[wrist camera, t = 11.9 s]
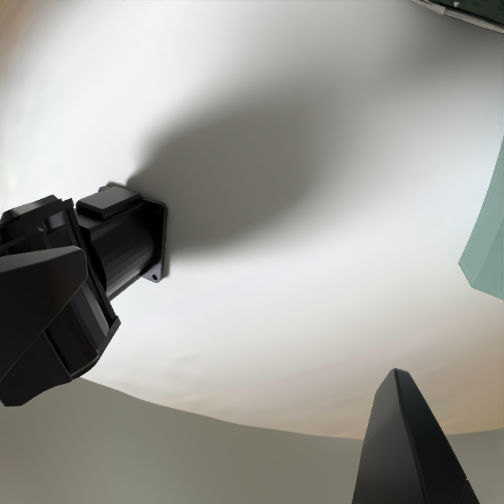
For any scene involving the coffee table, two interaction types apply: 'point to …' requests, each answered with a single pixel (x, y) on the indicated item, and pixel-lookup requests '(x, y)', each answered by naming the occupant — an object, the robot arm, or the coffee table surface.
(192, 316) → the coffee table surface
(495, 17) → the miniature car
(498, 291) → the shaft pedestal
